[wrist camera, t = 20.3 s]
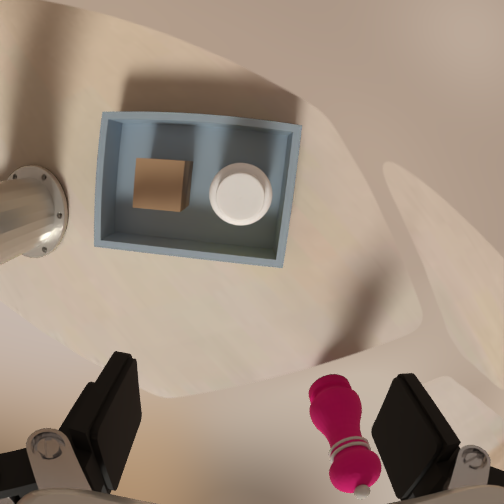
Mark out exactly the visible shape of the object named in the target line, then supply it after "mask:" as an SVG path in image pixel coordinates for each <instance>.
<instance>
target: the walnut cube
mask: <svg viewBox="0 0 504 504" xmlns="http://www.w3.org/2000/svg"><path fill="white" fill-rule="evenodd" d="M192 169H193V161H182V160H168V159H153V158H136V166H135V178H134V192H133V208H143V209H154V210H164V211H174V212H181V211H182V210H184V209H185V208H186V207H188V206H189V200H190V189H191V179H192Z"/></svg>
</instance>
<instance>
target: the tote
mask: <svg viewBox="0 0 504 504" xmlns="http://www.w3.org/2000/svg"><path fill="white" fill-rule="evenodd" d="M301 130H302V125H296V124H289V123H282V122H275V121H268V120H260V119H251V118H242V117H232V116H221V115H208V114H193V113H174V112H102V120H101V128H100V137H99V147H98V158H97V171H96V187H95V214H94V247H102V248H110V249H119V250H127V251H135V252H144V253H152V254H161V255H169V256H178V257H187V258H195V259H204V260H213V261H222V262H231V263H240V264H249V265H258V266H268V267H277V268H283V263H284V256H285V250H286V243H287V236H288V229H289V222H290V215H291V208H292V200H293V193H294V186H295V178H296V170H297V163H298V155H299V147H300V139H301ZM136 158H153V159H168V160H182V161H193V169H192V179H191V189H190V200H189V206H188V207H186V208H185V209H184V210H182V211H181V212H174V211H164V210H154V209H143V208H133V192H134V178H135V166H136ZM234 163H248V164H251V165H254V166H256V167H258V168H259V169H260V170H262V171H263V172H264V173H265V175H266V176H267V177H268V179H269V181H270V183H271V187H272V202H271V205H270V207H269V209H268V211H267V212H266V214H265V215H264V216H263V217H262V218H261V219H259V220H258V221H256V222H254V223H252V224H248V225H233V224H230V223H227V222H225V221H224V220H222V219H221V218H220V217H219V216H218V215H217V214H216V213H215V212H214V210H213V208H212V206H211V203H210V199H209V190H210V185H211V182H212V180H213V178H214V177H215V175H216V174H217V173H218V172H219V171H220V170H221V169H223V168H224V167H226V166H228V165H230V164H234Z"/></svg>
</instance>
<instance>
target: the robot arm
mask: <svg viewBox="0 0 504 504" xmlns="http://www.w3.org/2000/svg"><path fill="white" fill-rule="evenodd" d="M67 220H68V209H67V202H66V197H65V194H64V191H63V189H62V186H61V185H60V183H59V181H58V180H57V178H56V177H55V176H54V175H53V174H52V173H51V172H50V171H48V170H47V169H45V168H43V167H41V166H35V165H31V166H24V167H21V168H19V169H17V170H16V171H14V172H13V173H12V174H11V175H10V176H9V178H8V179H7V180H6V181H0V265H2V264H4V263H6V262H8V261H10V260H12V259H14V258H16V257H18V256H20V255H24V256H26V257H29V258H40V257H43V256H46V255H48V254H49V253H51V252H52V251H54V250H55V249H56V248H57V246H58V245H59V244H60V242H61V241H62V239H63V237H64V234H65V231H66V226H67ZM141 416H142V412H141V404H140V395H139V384H138V372H137V361H136V359H133V358H132V356H131V354H128V353H123V352H117V351H115V352H114V353H113V355H112V356H111V358H110V359H109V361H108V363H107V364H106V366H105V367H104V369H103V371H102V372H101V374H100V375H99V377H98V379H97V380H96V382H95V383H94V382H89V383H88V384H87V385H86V387H85V388H84V390H83V391H82V393H81V394H80V396H79V398H78V399H77V401H76V402H75V404H74V406H73V407H72V409H71V410H70V412H69V414H68V415H67V417H66V419H65V420H64V422H63V424H62V425H61V427H60V428H59V430H56V429H51V428H46V429H45V428H44V429H40V430H37V431H35V432H34V433H32V434H31V435H30V436H29V437H28V439H27V442H26V448H24V449H20V450H16V451H12V452H7V453H2V454H0V504H156V503H150V502H145V501H140V500H135V499H130V498H126V497H121V496H116V495H111V494H110V492H111V490H116V489H117V487H118V484H119V481H120V479H121V475H122V473H123V470H124V467H125V464H126V461H127V458H128V456H129V453H130V450H131V447H132V444H133V441H134V439H135V436H136V433H137V430H138V428H139V425H140V422H141ZM372 437H373V439H374V442H375V444H376V447H377V449H378V452H379V454H380V456H381V459H382V461H383V464H384V466H385V469H386V471H387V474H388V477H389V479H390V482H391V484H392V487H393V489H394V492H395V494H396V497H397V498H398V499H401V501H399V502H394V503H389V504H504V471H502V470H499V469H496V468H494V467H491V466H490V457H489V455H488V454H487V452H486V451H485V450H483V449H482V448H480V447H478V446H475V445H467V446H464V447H462V448H461V449H460V447H459V444H460V443H461V442H460V440H459V439H458V437H457V436H456V434H455V433H454V431H453V430H452V428H451V427H450V425H449V424H448V422H447V421H446V419H445V418H444V416H443V415H442V413H441V412H440V410H439V409H438V407H437V406H436V404H435V403H434V401H433V400H432V399H431V397H430V396H429V394H428V393H427V391H426V390H425V388H424V387H423V386H422V384H421V383H420V382H419V380H418V379H417V377H416V376H415V375H414V374H412V373H409V374H399V375H398V376H397V378H394V379H393V381H392V384H391V386H390V388H389V391H388V393H387V395H386V398H385V400H384V402H383V405H382V407H381V409H380V411H379V414H378V416H377V418H376V420H375V422H374V425H373V427H372Z"/></svg>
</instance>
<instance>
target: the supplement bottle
mask: <svg viewBox="0 0 504 504" xmlns="http://www.w3.org/2000/svg"><path fill="white" fill-rule="evenodd" d="M209 199H210V203H211V206H212V208H213V210H214V212H215V213H216V214H217V215H218V216H219V217H220V218H221V219H222V220H224V221H225V222H227V223H230V224H233V225H248V224H252V223H254V222H256V221H258V220H259V219H261V218H262V217H263V216H264V215H265V214H266V212H267V211H268V209H269V207H270V205H271V202H272V187H271V183H270V181H269V179H268V177H267V176H266V175H265V173H264V172H263V171H262V170H260V169H259V168H258V167H256V166H254V165H251V164H248V163H234V164H230V165H228V166H226V167H224V168H223V169H221V170H220V171H219V172H218V173H217V174H216V175H215V177H214V178H213V180H212V182H211V185H210V190H209Z"/></svg>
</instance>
